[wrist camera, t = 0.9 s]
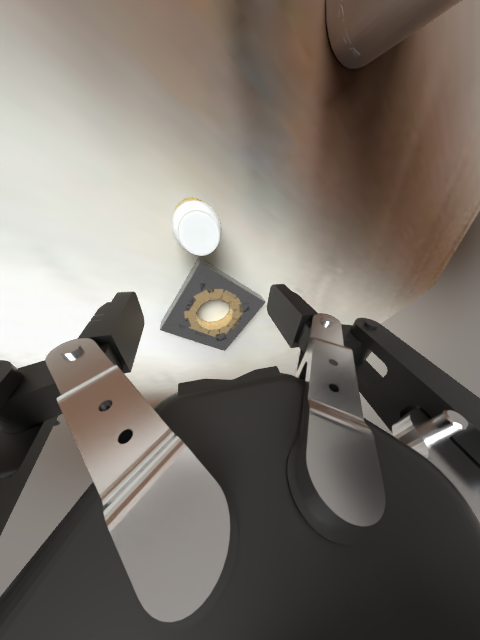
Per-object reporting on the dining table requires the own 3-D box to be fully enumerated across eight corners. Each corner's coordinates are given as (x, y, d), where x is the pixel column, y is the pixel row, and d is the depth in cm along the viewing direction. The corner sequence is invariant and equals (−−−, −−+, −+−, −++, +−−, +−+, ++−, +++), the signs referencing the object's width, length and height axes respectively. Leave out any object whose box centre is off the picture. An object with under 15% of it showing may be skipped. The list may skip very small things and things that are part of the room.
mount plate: (198, 257, 27) (200, 262, 25) (260, 295, 34) (265, 302, 33) (161, 321, 32) (160, 329, 30) (222, 342, 39) (224, 350, 37)
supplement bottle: (168, 199, 22) (162, 203, 14) (210, 196, 23) (223, 198, 15) (179, 243, 25) (178, 265, 18) (215, 239, 26) (228, 258, 19)
